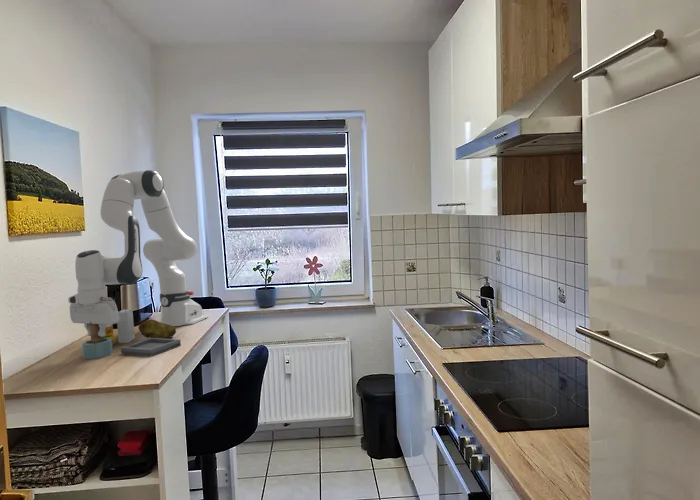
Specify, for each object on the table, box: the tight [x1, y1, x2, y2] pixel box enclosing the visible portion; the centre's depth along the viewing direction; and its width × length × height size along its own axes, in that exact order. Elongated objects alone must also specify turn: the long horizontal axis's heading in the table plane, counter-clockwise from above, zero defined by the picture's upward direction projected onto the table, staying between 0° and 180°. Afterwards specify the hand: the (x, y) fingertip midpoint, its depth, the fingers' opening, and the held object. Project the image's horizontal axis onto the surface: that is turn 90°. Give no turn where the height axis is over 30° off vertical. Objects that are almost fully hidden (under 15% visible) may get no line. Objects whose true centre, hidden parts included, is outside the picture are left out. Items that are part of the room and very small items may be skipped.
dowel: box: [90, 321, 103, 344], centre depth 174 cm, size 4×4×12 cm
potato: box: [138, 319, 177, 339], centre depth 193 cm, size 8×13×8 cm, turn 95°
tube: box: [81, 338, 114, 360], centre depth 174 cm, size 9×9×5 cm
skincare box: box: [116, 308, 135, 344], centre depth 192 cm, size 6×4×12 cm
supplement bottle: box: [103, 324, 115, 346], centre depth 187 cm, size 6×6×10 cm
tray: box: [120, 338, 182, 357], centre depth 177 cm, size 14×14×2 cm
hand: (96, 335), depth 174 cm, fingers closed on dowel, 4 cm apart
